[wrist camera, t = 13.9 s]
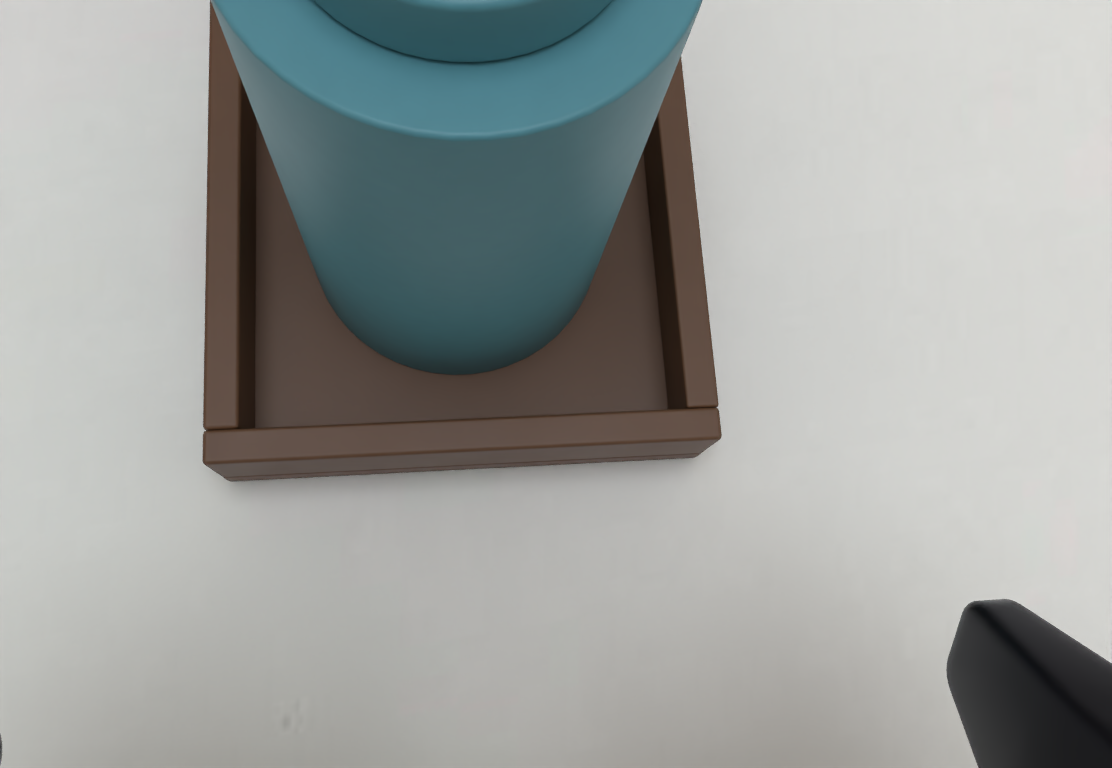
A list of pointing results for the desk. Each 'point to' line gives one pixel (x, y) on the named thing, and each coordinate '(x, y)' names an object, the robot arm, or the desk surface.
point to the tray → (431, 398)
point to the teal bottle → (456, 155)
